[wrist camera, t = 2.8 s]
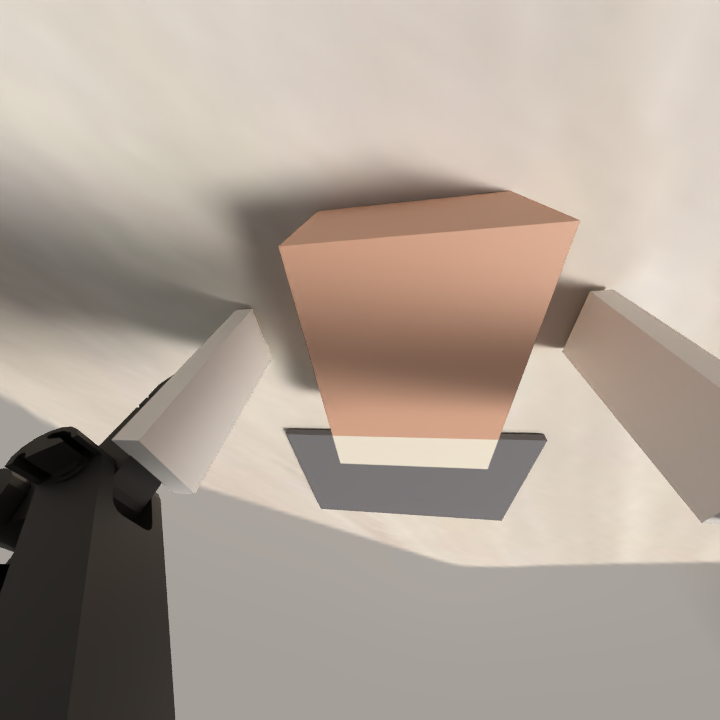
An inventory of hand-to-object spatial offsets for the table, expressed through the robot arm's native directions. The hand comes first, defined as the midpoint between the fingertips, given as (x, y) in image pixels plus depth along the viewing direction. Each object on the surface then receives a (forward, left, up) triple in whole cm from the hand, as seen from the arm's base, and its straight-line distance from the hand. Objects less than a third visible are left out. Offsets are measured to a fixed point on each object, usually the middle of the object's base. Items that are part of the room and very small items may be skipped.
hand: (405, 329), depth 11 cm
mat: (+13, 0, 0) cm, 13 cm away
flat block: (0, 0, 0) cm, 0 cm away
